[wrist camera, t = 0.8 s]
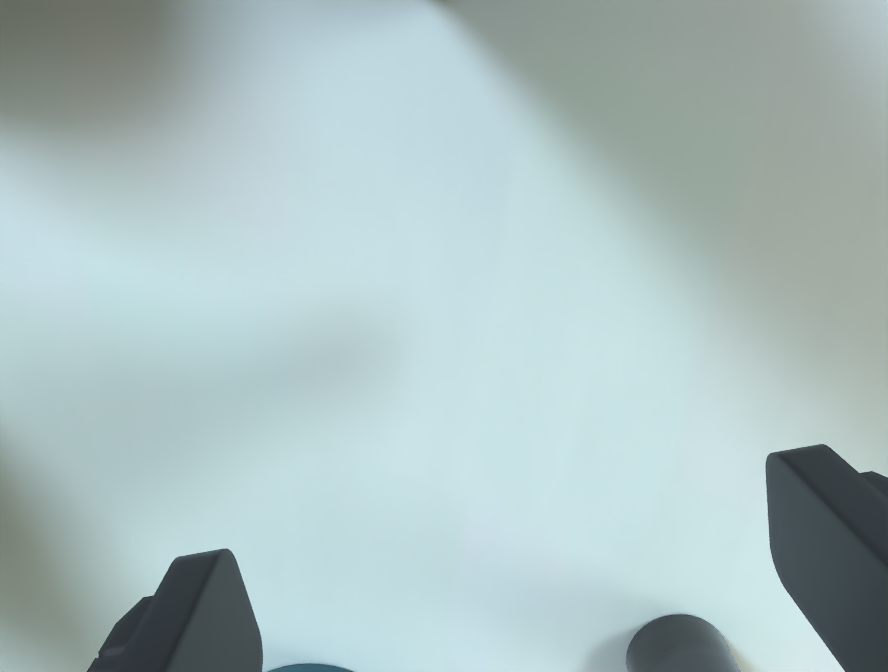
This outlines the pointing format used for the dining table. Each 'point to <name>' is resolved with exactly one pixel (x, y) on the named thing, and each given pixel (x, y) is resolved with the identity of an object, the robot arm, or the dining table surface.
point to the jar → (310, 668)
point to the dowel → (679, 647)
